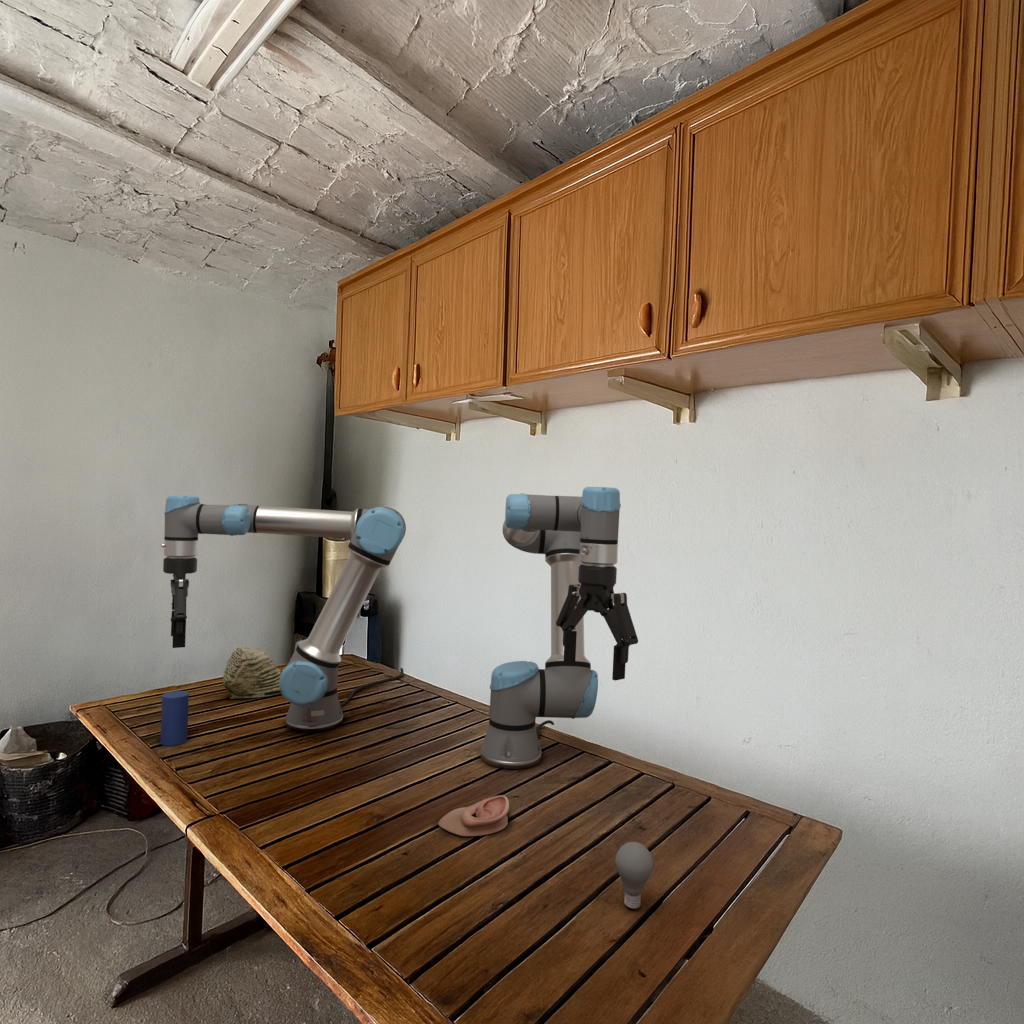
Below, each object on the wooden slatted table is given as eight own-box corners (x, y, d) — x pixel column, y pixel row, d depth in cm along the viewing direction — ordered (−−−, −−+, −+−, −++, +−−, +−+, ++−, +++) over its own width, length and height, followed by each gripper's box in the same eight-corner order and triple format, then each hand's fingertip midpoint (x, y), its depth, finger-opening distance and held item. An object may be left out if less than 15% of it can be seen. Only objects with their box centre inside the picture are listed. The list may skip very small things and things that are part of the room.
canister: (187, 743, 158) (189, 696, 158) (160, 747, 155) (162, 699, 155) (186, 735, 163) (188, 689, 163) (160, 739, 160) (162, 692, 160)
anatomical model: (433, 811, 121) (451, 785, 132) (432, 831, 121) (450, 804, 133) (501, 821, 119) (513, 794, 130) (500, 842, 119) (512, 813, 130)
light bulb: (609, 894, 104) (612, 834, 104) (645, 894, 105) (647, 834, 105) (618, 918, 98) (621, 854, 98) (656, 918, 99) (659, 854, 99)
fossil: (218, 695, 195) (220, 647, 195) (278, 685, 208) (279, 640, 207) (228, 703, 189) (230, 653, 188) (289, 692, 201) (290, 645, 201)
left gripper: (162, 552, 167) (160, 632, 168) (164, 562, 146) (161, 654, 146) (194, 552, 171) (191, 630, 172) (200, 562, 150) (197, 651, 150)
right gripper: (542, 558, 133) (537, 658, 134) (633, 572, 114) (628, 689, 114) (568, 557, 138) (563, 654, 138) (660, 571, 118) (654, 683, 119)
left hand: (177, 641), depth 159 cm, fingers open, 13 cm apart
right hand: (592, 670), depth 126 cm, fingers open, 13 cm apart
